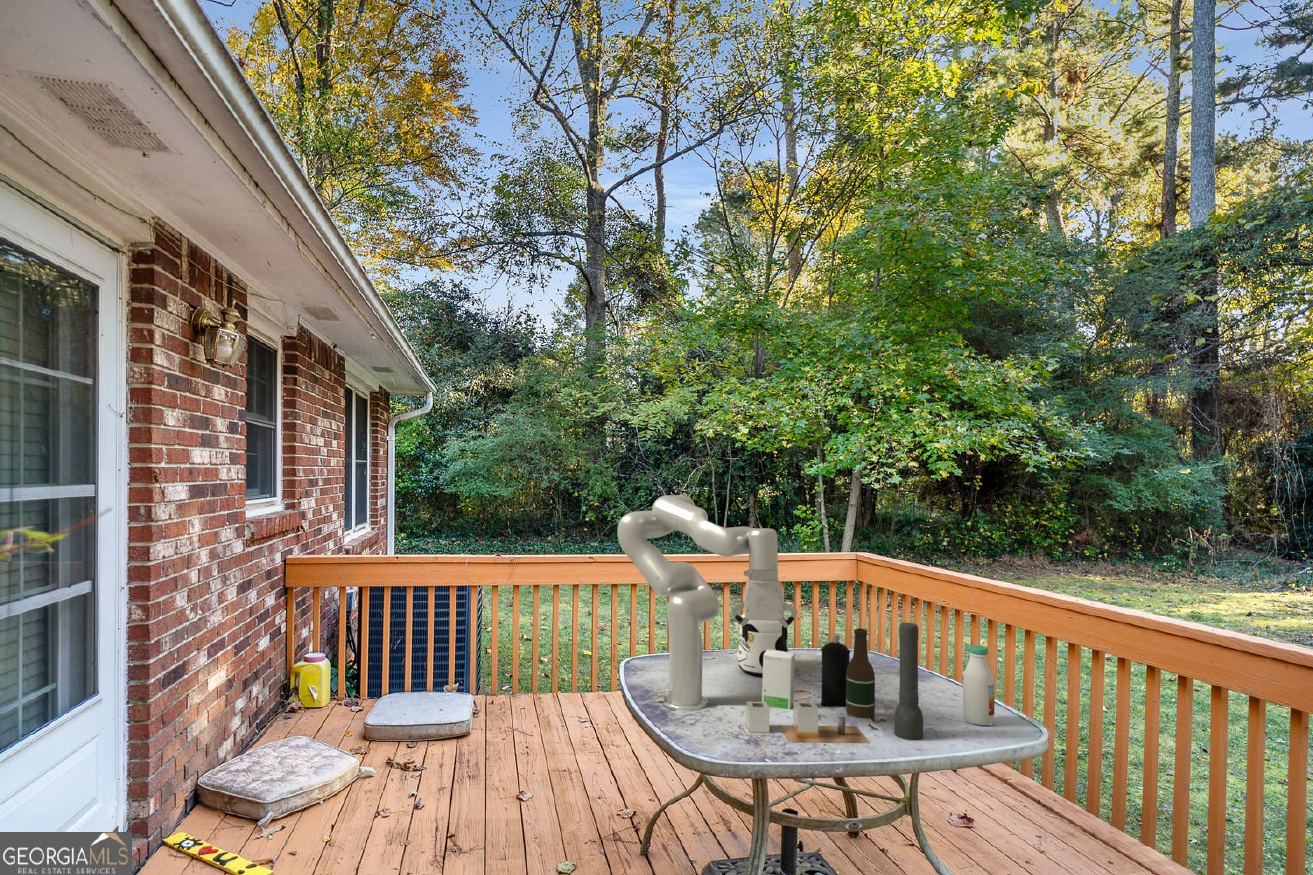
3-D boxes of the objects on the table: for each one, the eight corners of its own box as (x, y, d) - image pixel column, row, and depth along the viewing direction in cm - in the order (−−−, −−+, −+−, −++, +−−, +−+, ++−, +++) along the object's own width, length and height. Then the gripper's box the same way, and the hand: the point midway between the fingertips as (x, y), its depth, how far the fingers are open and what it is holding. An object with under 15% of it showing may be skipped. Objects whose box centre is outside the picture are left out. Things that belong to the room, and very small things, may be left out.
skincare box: (761, 710, 191) (761, 654, 192) (765, 703, 197) (766, 648, 198) (791, 714, 188) (791, 657, 189) (794, 707, 194) (795, 651, 195)
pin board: (788, 748, 165) (788, 725, 165) (779, 731, 176) (779, 709, 176) (870, 749, 166) (870, 726, 166) (856, 731, 177) (856, 710, 177)
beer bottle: (870, 726, 181) (871, 634, 182) (841, 720, 185) (842, 630, 186) (878, 717, 187) (878, 628, 189) (850, 711, 192) (850, 624, 193)
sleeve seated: (797, 737, 168) (797, 708, 169) (792, 729, 173) (792, 701, 174) (818, 737, 168) (819, 708, 169) (813, 729, 174) (813, 701, 174)
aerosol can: (851, 712, 191) (851, 639, 192) (820, 709, 193) (821, 637, 194) (849, 702, 199) (849, 632, 200) (819, 700, 201) (820, 631, 202)
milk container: (726, 670, 229) (726, 616, 230) (758, 661, 241) (759, 609, 242) (767, 682, 217) (767, 625, 217) (799, 672, 228) (800, 617, 229)
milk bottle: (981, 728, 181) (981, 651, 182) (956, 718, 187) (956, 644, 188) (1000, 724, 184) (1000, 648, 185) (975, 714, 191) (975, 642, 192)
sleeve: (748, 737, 171) (749, 708, 171) (745, 728, 176) (745, 701, 177) (769, 737, 171) (770, 708, 171) (766, 729, 176) (766, 701, 177)
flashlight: (927, 734, 176) (900, 727, 180) (927, 624, 177) (900, 619, 182) (918, 742, 170) (890, 735, 175) (918, 628, 172) (890, 624, 176)
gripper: (729, 576, 179) (730, 643, 178) (796, 578, 176) (798, 645, 175) (732, 573, 187) (733, 637, 186) (797, 574, 183) (798, 639, 182)
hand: (764, 641), depth 180 cm, fingers open, 9 cm apart
